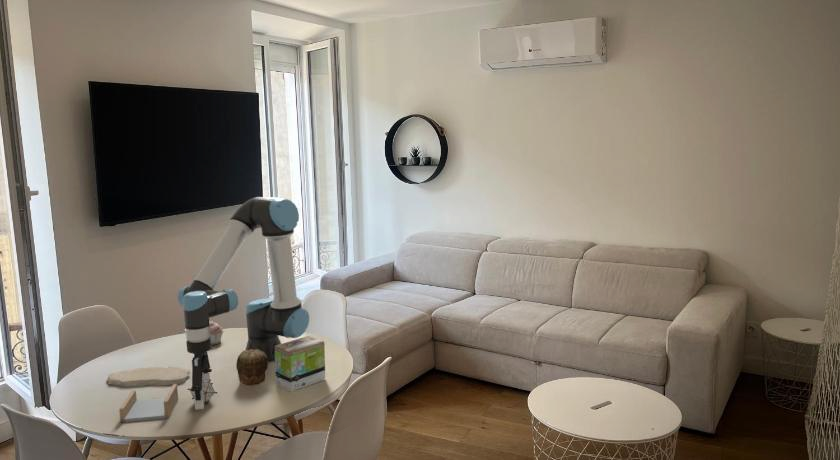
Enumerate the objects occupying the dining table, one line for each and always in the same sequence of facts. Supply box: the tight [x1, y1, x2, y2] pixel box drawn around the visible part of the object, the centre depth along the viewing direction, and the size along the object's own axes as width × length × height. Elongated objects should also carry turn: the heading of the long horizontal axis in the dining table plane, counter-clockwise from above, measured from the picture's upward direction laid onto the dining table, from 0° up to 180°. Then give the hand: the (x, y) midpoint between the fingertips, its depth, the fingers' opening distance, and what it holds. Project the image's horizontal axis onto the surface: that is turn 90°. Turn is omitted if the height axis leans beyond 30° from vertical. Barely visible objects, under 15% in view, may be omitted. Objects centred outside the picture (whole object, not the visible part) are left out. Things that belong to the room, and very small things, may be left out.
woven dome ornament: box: [235, 349, 269, 386], centre depth 224 cm, size 11×11×12 cm
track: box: [118, 384, 179, 423], centre depth 203 cm, size 14×14×6 cm
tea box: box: [274, 335, 326, 393], centre depth 222 cm, size 15×10×15 cm
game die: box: [187, 378, 218, 406], centre depth 208 cm, size 9×8×10 cm
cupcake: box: [209, 320, 225, 346], centre depth 267 cm, size 9×9×10 cm
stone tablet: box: [107, 366, 191, 388], centre depth 231 cm, size 16×30×2 cm, turn 92°
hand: (203, 400), depth 209 cm, fingers open, 13 cm apart
